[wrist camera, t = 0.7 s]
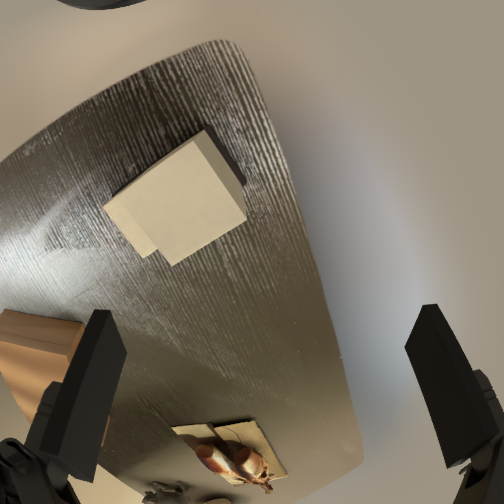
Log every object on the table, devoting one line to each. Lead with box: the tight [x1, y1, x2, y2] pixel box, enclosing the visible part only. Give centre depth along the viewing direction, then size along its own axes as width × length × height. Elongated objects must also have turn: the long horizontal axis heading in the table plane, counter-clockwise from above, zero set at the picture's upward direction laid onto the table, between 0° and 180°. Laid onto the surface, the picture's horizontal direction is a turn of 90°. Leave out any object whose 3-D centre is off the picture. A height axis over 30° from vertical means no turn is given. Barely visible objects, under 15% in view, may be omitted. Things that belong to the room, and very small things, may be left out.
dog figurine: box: [142, 481, 191, 504], centre depth 53 cm, size 12×6×7 cm, turn 98°
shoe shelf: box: [0, 310, 110, 446], centre depth 36 cm, size 20×13×6 cm, turn 174°
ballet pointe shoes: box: [171, 421, 288, 494], centre depth 48 cm, size 14×7×28 cm
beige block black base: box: [103, 125, 247, 266], centre depth 25 cm, size 11×6×10 cm, turn 122°
